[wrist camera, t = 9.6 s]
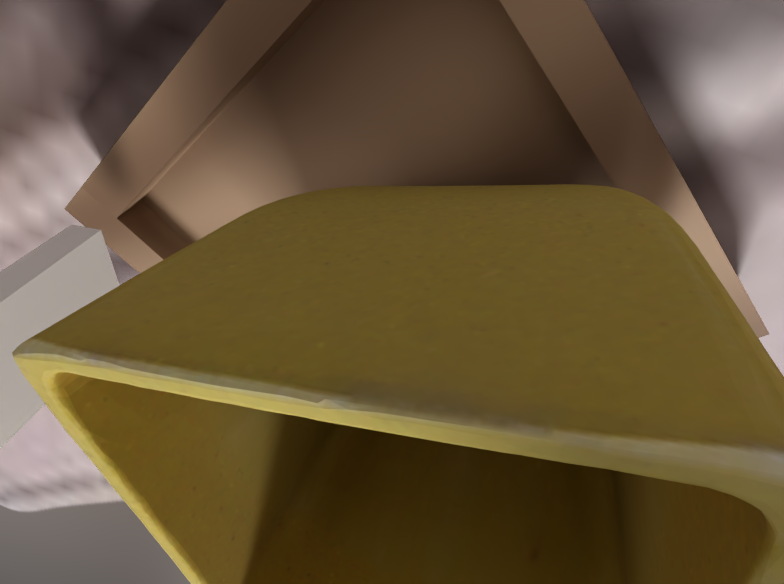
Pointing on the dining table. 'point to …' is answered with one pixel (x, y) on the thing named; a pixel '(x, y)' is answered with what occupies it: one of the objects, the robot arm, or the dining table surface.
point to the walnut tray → (382, 118)
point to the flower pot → (433, 395)
